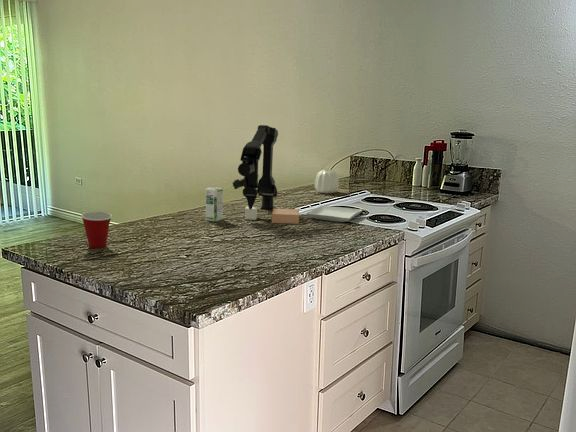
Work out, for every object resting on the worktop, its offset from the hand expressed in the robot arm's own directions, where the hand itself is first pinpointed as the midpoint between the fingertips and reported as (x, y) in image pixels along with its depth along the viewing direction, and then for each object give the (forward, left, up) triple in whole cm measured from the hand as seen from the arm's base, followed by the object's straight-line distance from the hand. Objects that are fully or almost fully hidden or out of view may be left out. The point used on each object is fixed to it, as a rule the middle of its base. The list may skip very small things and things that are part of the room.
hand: (251, 207), depth 262 cm
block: (0, 0, -5) cm, 5 cm away
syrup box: (+6, -16, -5) cm, 18 cm away
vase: (-74, +37, -5) cm, 83 cm away
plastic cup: (+55, -51, -5) cm, 75 cm away
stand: (+2, +16, -5) cm, 17 cm away
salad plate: (-8, +38, -6) cm, 40 cm away
